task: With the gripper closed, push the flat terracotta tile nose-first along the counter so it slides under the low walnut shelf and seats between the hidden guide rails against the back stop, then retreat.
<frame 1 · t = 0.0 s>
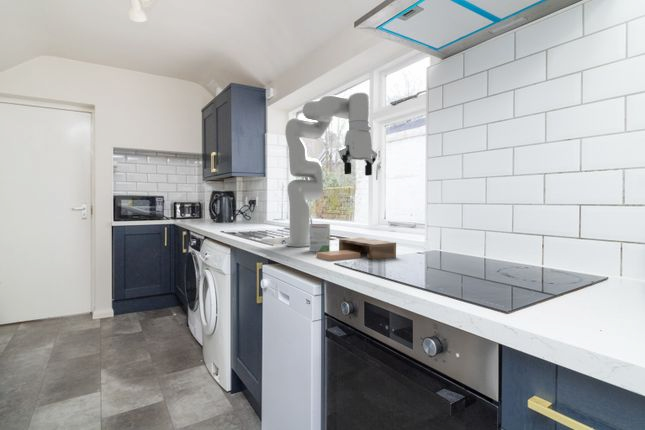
hand: (358, 174, 128), 31 cm above the worktop, fingers open, 9 cm apart
ink box: (319, 251, 150), on the worktop
shelf: (365, 254, 139), on the worktop
tile: (338, 258, 132), on the worktop
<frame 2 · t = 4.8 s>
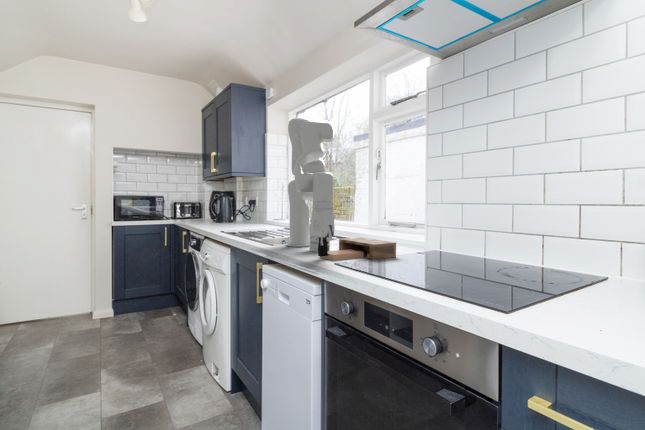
hand: (322, 255, 128), 1 cm above the worktop, fingers closed
tile: (341, 258, 133), on the worktop, touching gripper
everything else where it was.
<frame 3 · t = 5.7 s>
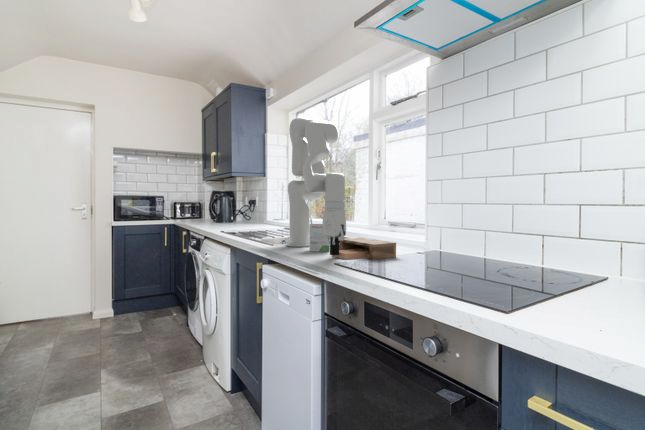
hand: (334, 254, 131), 1 cm above the worktop, fingers closed
tile: (353, 257, 135), on the worktop
everything else where it was.
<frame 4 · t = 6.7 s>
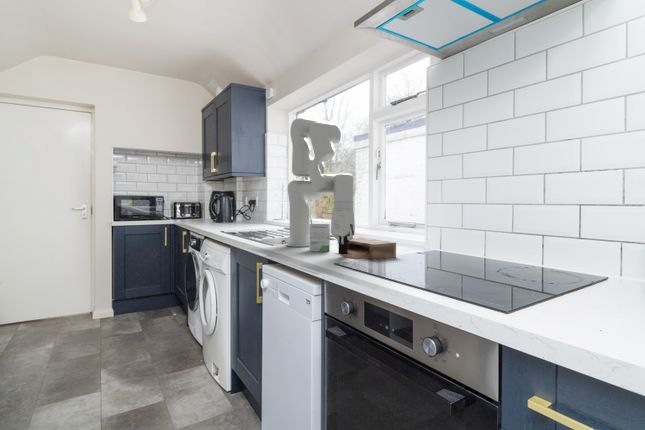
hand: (343, 254, 133), 1 cm above the worktop, fingers closed
tile: (362, 256, 137), on the worktop
everything else where it was.
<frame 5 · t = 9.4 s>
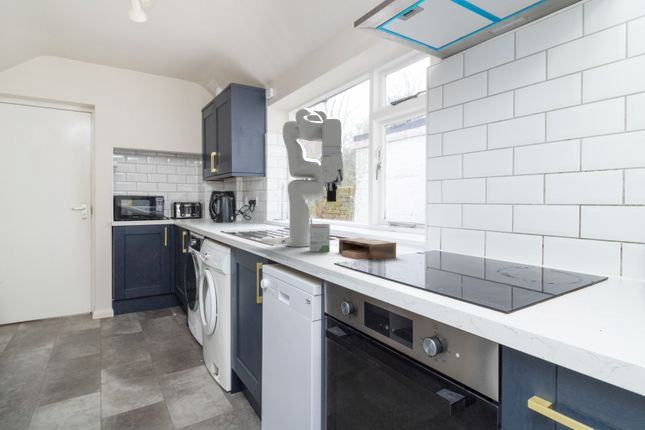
hand: (331, 201, 131), 21 cm above the worktop, fingers closed
nothing on the worktop moved.
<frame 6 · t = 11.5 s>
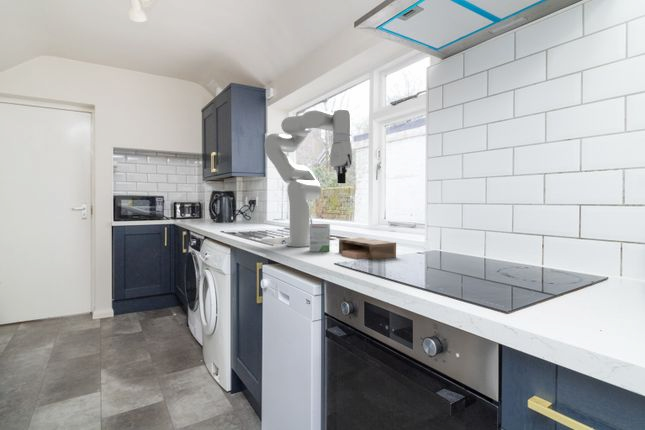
hand: (341, 183, 148), 29 cm above the worktop, fingers closed
nothing on the worktop moved.
at the end: tile 1.4 cm from the target spot, on the worktop; tile moved 11.0 cm from its start; the gripper is holding nothing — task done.
